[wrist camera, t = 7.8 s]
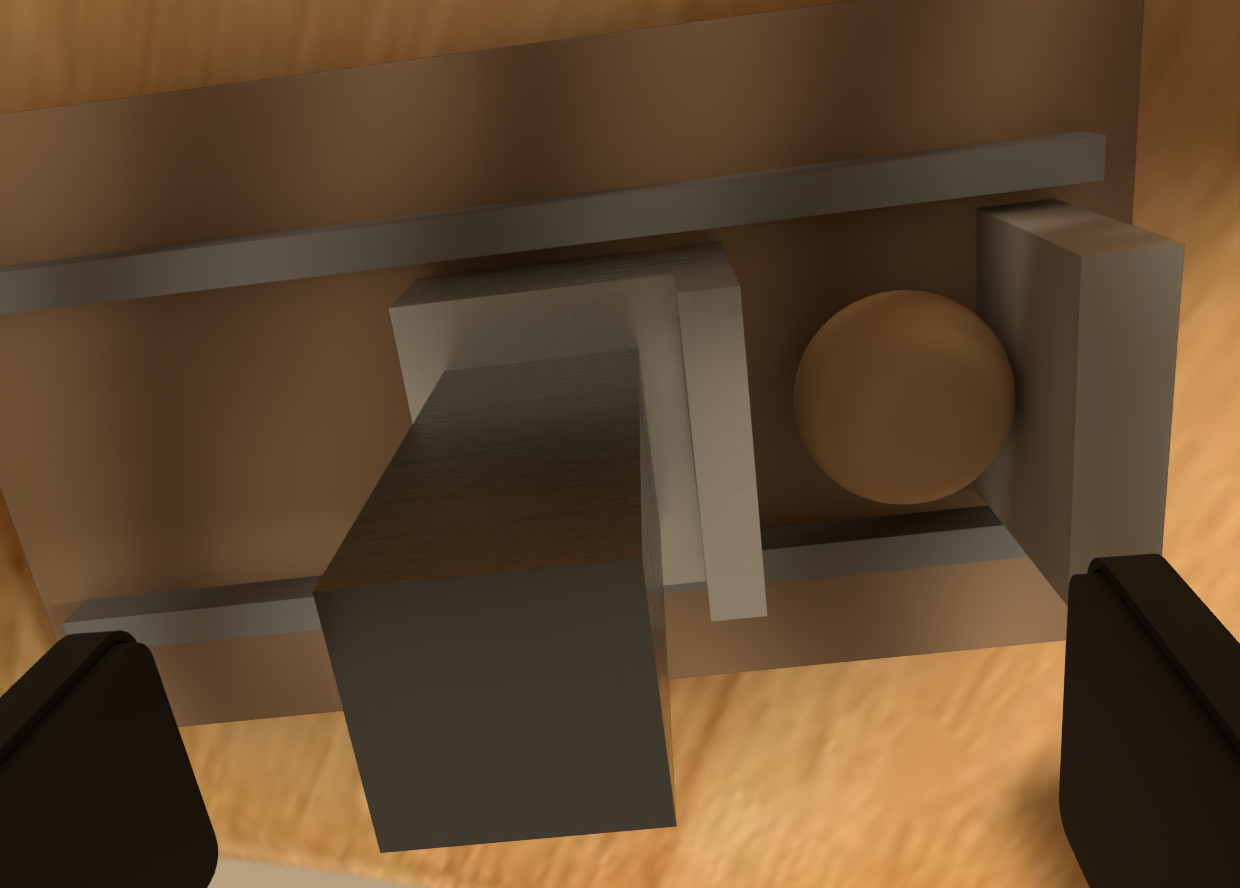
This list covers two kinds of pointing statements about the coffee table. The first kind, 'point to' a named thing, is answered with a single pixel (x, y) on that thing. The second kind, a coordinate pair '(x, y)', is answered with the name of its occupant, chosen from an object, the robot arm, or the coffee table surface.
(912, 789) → the coffee table surface
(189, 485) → the board
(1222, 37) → the coffee table surface
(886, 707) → the coffee table surface
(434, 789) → the handle
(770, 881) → the coffee table surface
